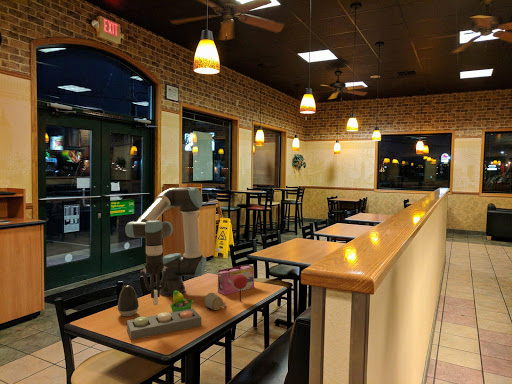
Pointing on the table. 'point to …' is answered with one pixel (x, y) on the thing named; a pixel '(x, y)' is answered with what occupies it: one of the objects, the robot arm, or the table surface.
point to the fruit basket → (180, 302)
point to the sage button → (141, 321)
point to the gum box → (228, 277)
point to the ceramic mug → (214, 301)
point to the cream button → (164, 317)
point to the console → (163, 325)
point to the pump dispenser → (128, 301)
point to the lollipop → (240, 282)
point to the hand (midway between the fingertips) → (155, 304)
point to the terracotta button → (186, 314)
